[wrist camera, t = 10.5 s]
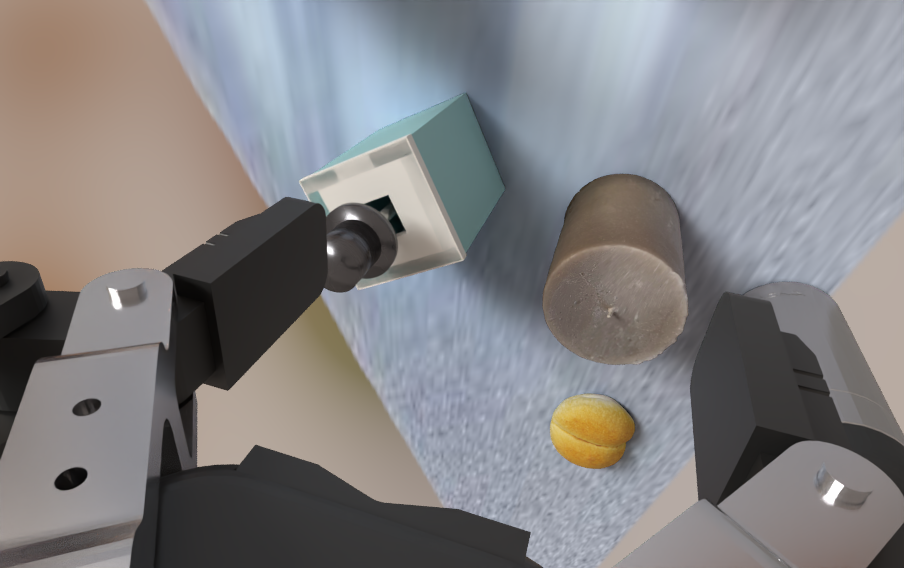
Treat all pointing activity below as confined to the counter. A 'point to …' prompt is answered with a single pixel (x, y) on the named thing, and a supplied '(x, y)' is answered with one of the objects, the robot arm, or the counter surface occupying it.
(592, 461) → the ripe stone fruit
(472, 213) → the open teal box
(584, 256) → the pillar candle
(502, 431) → the counter surface
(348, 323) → the counter surface
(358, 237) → the doorknob
